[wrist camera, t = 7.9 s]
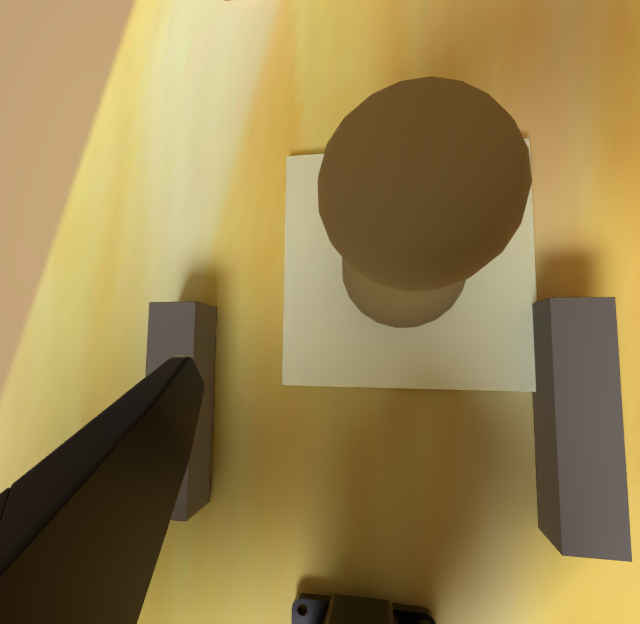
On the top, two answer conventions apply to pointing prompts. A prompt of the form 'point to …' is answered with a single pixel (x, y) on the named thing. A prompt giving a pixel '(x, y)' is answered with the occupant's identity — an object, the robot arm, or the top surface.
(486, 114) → the cork
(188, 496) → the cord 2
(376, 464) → the top surface
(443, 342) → the pad
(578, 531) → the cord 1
